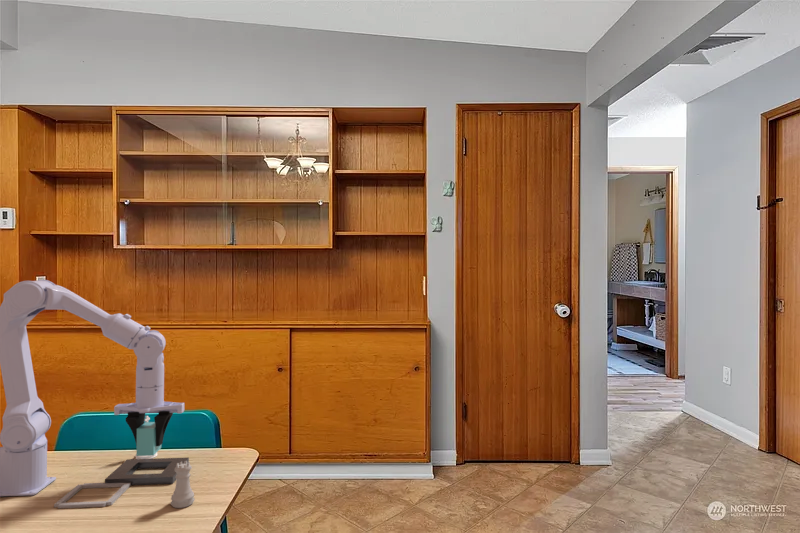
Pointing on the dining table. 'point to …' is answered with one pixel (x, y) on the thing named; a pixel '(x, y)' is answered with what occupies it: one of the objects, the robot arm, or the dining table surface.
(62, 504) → the open picture frame
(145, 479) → the port block
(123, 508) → the dining table surface
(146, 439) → the plug
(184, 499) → the rook chess piece
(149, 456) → the chess piece
